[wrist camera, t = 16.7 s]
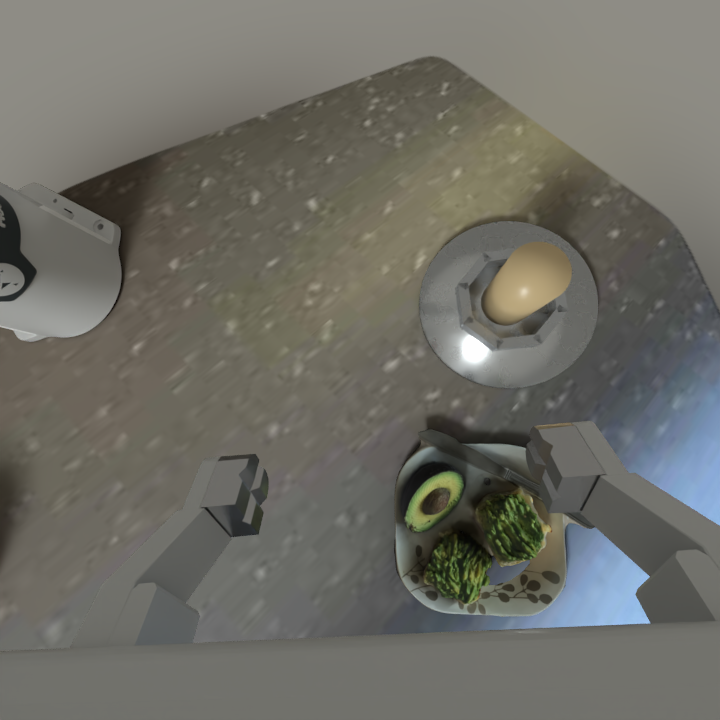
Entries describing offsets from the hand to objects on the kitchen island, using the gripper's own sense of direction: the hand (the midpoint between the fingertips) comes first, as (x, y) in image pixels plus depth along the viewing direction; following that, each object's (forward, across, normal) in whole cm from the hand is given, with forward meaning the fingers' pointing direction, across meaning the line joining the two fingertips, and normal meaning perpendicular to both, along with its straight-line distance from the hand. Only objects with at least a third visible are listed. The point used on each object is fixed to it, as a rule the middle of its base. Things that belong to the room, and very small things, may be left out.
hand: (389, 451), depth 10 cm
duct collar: (+26, -13, +13) cm, 32 cm away
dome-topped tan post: (+26, -13, +12) cm, 31 cm away
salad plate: (+11, -6, +28) cm, 31 cm away
